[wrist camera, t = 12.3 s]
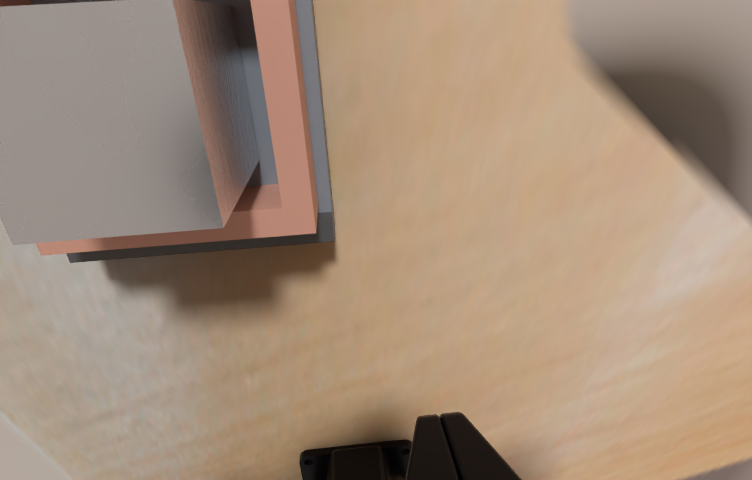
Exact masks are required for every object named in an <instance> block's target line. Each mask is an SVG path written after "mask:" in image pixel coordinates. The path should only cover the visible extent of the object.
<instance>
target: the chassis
mask: <svg viewBox="0 0 752 480" xmlns="http://www.w3.org/2000/svg"><path fill="white" fill-rule="evenodd" d="M98 1H117V0H0V7H2V6H21V5H41V4H60V3H79V2H98ZM194 1H201V2H209V3H217V4H224V5H232V6H233V7H234V13H235V19H236V25H237V31H238V36H239V42H240V48H241V54H242V60H243V66H244V71H245V77H246V83H247V89H248V95H249V101H250V106H251V112H252V118H253V124H254V130H255V136H256V141H257V147H258V153H259V159H260V160H259V162H258V163H257V165H256V167H255V169H254V171H253V173H252V175H251V177H250V179H249V181H248V182H247V184H246V186H245V188H244V190H243V192H242V194H241V196H240V198H239V200H238V202H237V203H236V205H235V207H234V209H233V211H232V213H231V215H230V217H229V219H228V221H227V222H226V224H225V226H224V228H217V229H205V230H192V231H180V232H167V233H155V234H142V235H130V236H117V237H105V238H92V239H80V240H68V241H55V242H43V243H36V244H37V247H38V249H39V251H40V254H41V255H52V254H64V253H66V254H67V256H68V259H69V261H70V263H74V262H86V261H98V260H110V259H123V258H135V257H147V256H160V255H172V254H184V253H197V252H209V251H221V250H234V249H246V248H258V247H270V246H283V245H295V244H307V243H320V242H332V241H334V239H335V222H334V212H333V202H332V192H331V182H330V171H329V161H328V151H327V141H326V131H325V121H324V111H323V100H322V90H321V80H320V70H319V60H318V50H317V40H316V29H315V19H314V9H313V0H194Z"/></svg>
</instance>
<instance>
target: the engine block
mask: <svg viewBox="0 0 752 480" xmlns="http://www.w3.org/2000/svg"><path fill="white" fill-rule="evenodd" d="M259 160H260V159H259V153H258V147H257V141H256V136H255V130H254V124H253V118H252V112H251V106H250V101H249V95H248V89H247V83H246V77H245V71H244V66H243V60H242V54H241V48H240V42H239V36H238V31H237V25H236V19H235V13H234V7H233V6H232V5H224V4H217V3H209V2H201V1H194V0H117V1H98V2H79V3H60V4H41V5H21V6H2V7H0V218H1V220H2V222H3V225H4V227H5V229H6V231H7V233H8V235H9V237H10V240H11V242H12V244H13V245H18V244H30V243H43V242H55V241H68V240H80V239H92V238H105V237H117V236H130V235H142V234H155V233H167V232H180V231H192V230H205V229H217V228H224V226H225V224H226V222H227V221H228V219H229V217H230V215H231V213H232V211H233V209H234V207H235V205H236V203H237V202H238V200H239V198H240V196H241V194H242V192H243V190H244V188H245V186H246V184H247V182H248V181H249V179H250V177H251V175H252V173H253V171H254V169H255V167H256V165H257V163H258V162H259Z"/></svg>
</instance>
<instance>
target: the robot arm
mask: <svg viewBox="0 0 752 480" xmlns="http://www.w3.org/2000/svg"><path fill="white" fill-rule="evenodd" d="M300 468H301V473H302V479H303V480H522V479H521V478H520V477H519V476H518V475H517V474H516V473H515V472H514V470H513V469H512V468H511V467H510V466H509V465H508V464H507V463H506V462H505V460H504V459H503V458H502V457H501V456H500V455H499V454H498V453H497V451H496V450H495V449H494V448H493V447H492V446H491V445H490V444H489V442H488V441H487V440H486V439H485V438H484V437H483V436H482V435H481V433H480V432H479V431H478V430H477V429H476V428H475V427H474V426H473V424H472V423H471V422H470V421H469V420H468V419H467V418H466V417H465V415H464V414H462V413H460V412H453V413H444V414H441V415H440V417H439V416H438V415H435V414H434V415H424V416H419V417H418V418H417V420H416V425H415V431H414V436H413V442H411V441H409V440H398V441H388V442H379V443H369V444H360V445H351V446H341V447H332V448H323V449H313V450H306V451H304V452H302V453H301V454H300Z"/></svg>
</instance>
